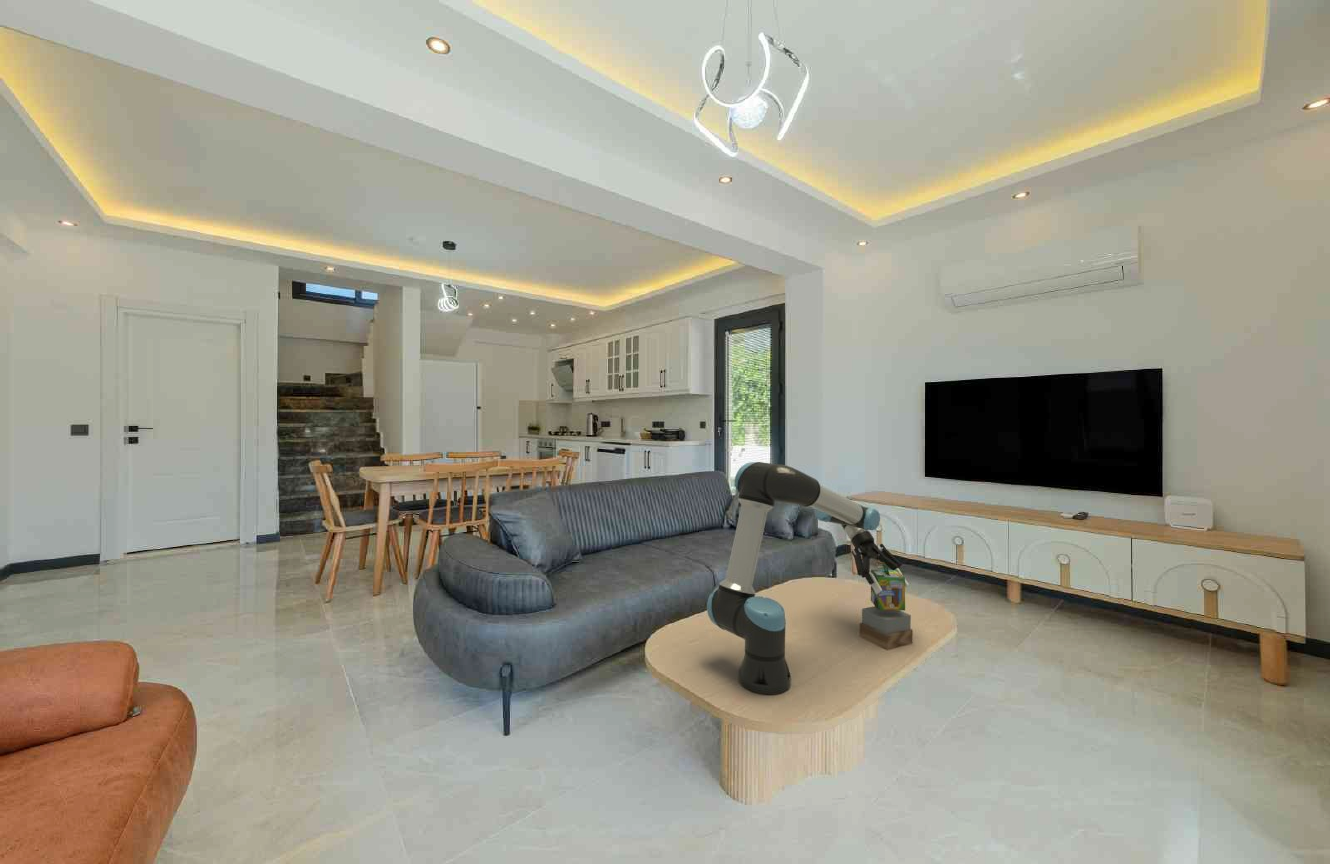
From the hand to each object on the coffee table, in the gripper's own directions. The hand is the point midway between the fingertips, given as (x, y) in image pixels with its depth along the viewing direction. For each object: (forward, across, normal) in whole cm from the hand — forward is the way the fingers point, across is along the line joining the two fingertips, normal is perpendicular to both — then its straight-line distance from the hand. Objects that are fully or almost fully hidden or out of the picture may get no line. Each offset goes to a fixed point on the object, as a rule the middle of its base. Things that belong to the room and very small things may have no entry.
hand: (892, 589), depth 179 cm
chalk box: (+3, 0, -6) cm, 7 cm away
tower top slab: (+8, 0, -12) cm, 14 cm away
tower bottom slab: (+12, 0, -15) cm, 19 cm away
